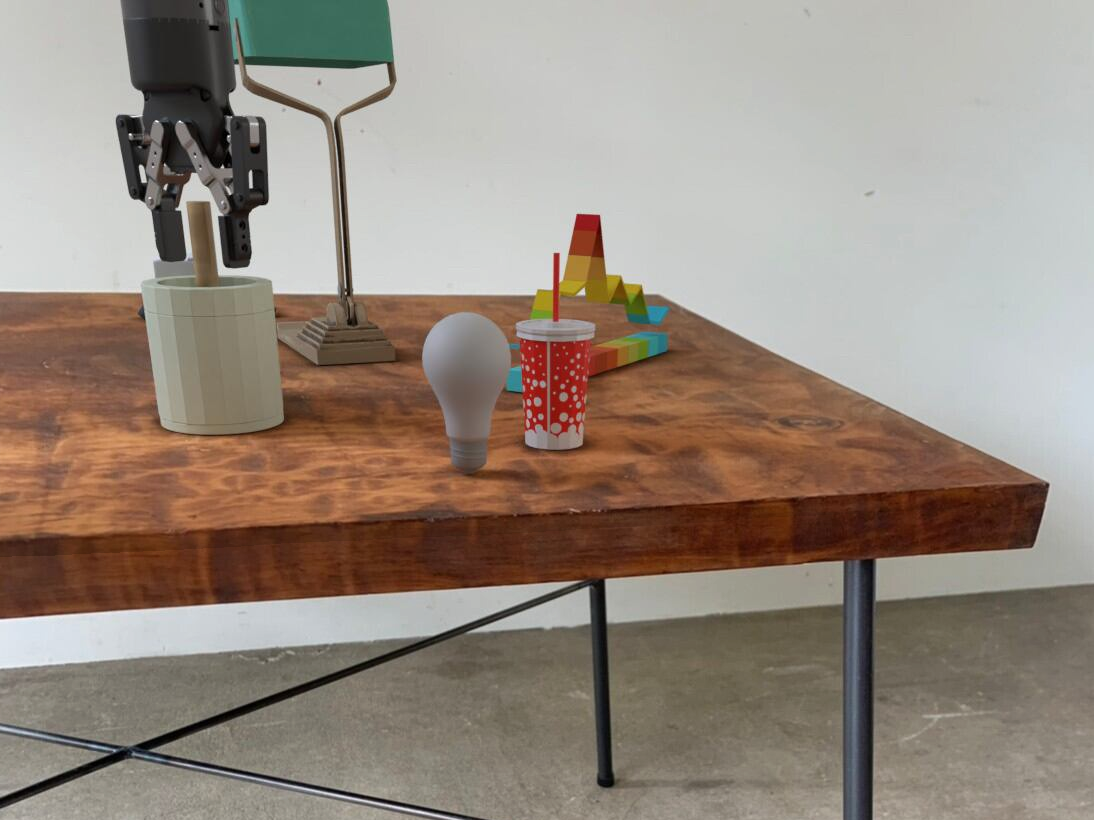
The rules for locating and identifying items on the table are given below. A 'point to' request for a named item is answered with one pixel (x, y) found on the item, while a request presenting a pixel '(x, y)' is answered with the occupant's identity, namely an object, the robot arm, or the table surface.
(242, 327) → the jar
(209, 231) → the brush
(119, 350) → the table surface
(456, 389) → the lightbulb
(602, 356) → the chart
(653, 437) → the table surface
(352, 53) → the banker's lamp
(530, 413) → the beverage cup
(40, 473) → the table surface
